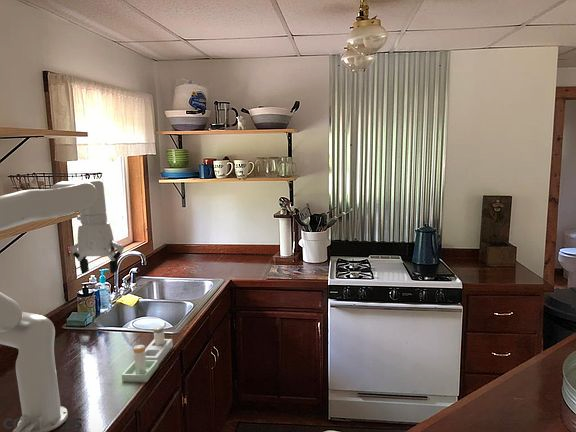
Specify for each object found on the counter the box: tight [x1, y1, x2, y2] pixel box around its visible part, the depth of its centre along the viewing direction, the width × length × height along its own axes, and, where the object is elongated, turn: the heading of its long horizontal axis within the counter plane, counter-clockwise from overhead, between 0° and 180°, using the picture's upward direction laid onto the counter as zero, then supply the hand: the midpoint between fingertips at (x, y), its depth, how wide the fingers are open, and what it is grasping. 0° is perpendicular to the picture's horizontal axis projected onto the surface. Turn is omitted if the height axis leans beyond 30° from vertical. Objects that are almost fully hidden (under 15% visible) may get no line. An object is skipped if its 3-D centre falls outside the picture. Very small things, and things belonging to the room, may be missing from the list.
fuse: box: [152, 325, 166, 346], centre depth 172 cm, size 4×4×9 cm
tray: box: [121, 360, 159, 383], centre depth 155 cm, size 10×8×2 cm
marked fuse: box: [132, 344, 147, 374], centre depth 155 cm, size 4×4×9 cm
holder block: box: [145, 338, 174, 366], centre depth 168 cm, size 15×7×3 cm, turn 174°
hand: (99, 272), depth 147 cm, fingers open, 9 cm apart
